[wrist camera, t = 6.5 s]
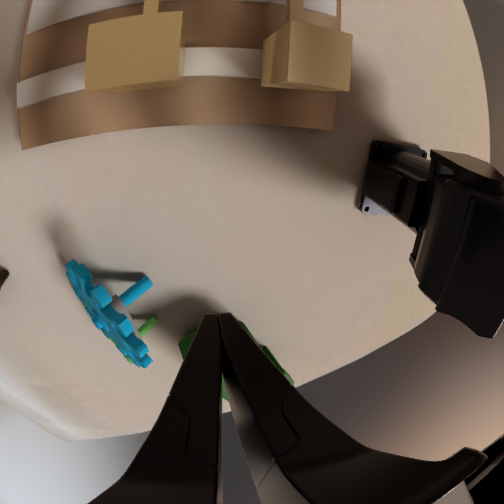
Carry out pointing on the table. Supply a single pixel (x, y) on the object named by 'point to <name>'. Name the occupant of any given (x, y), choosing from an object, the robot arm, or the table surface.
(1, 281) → the hand tool
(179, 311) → the table surface
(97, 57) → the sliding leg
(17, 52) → the table surface
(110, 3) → the wooden base with blocks
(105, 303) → the gear
